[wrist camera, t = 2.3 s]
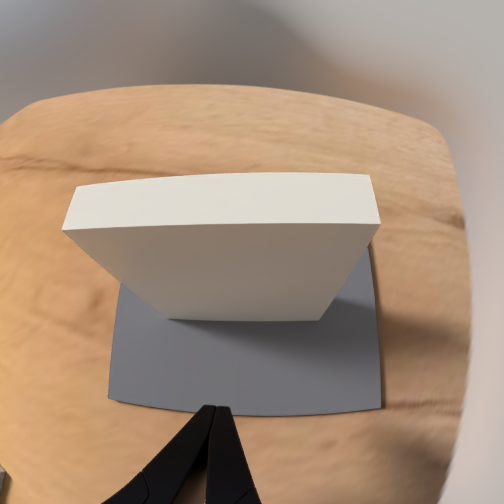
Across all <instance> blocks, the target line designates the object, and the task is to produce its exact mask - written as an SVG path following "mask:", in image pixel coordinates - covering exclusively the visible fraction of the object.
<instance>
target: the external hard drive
mask: <svg viewBox="0 0 504 504" xmlns="http://www.w3.org/2000/svg"><path fill="white" fill-rule="evenodd" d="M5 472H6V471H5V470H4V469H3V467H2V466H1V465H0V494H1V489H2V485H3V481H4V476H5Z"/></svg>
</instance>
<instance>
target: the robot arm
mask: <svg viewBox="0 0 504 504" xmlns="http://www.w3.org/2000/svg"><path fill="white" fill-rule="evenodd" d="M205 499H206V501H205ZM204 503H205V504H262V503H261V501H260V499H259V496H258V493H257V490H256V488H255V485H254V482H253V479H252V476H251V473H250V470H249V467H248V464H247V461H246V458H245V455H244V451H243V448H242V445H241V442H240V439H239V435H238V432H237V429H236V426H235V422H234V419H233V415H232V412H231V409H230V407H229V406H216V405H207V404H205V405H203V406H202V407H201V408H200V409H199V410H198V412H197V413H196V414H195V415H194V416H193V417H192V418H191V419H190V420H189V421H188V422H187V424H186V425H185V426H184V427H183V428H182V429H181V430H180V431H179V432H178V433H177V434H176V435H175V436H174V437H173V439H172V440H171V441H170V442H169V443H168V444H167V445H166V446H165V447H164V448H163V449H162V450H161V451H160V452H159V453H158V454H157V455H156V456H155V457H154V458H153V459H152V460H151V461H150V462H149V463H148V464H147V465H146V466H145V467H144V468H143V469H142V472H139V473H138V474H137V475H136V476H135V477H134V478H133V479H132V480H131V481H130V482H129V483H128V484H127V485H125V486H124V487H123V488H122V489H121V490H119V491H118V492H117V493H115V494H114V495H113V496H111V497H110V498H109V499H107V500H106V501H104V502H103V503H101V504H204Z"/></svg>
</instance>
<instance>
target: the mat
mask: <svg viewBox="0 0 504 504" xmlns="http://www.w3.org/2000/svg"><path fill="white" fill-rule="evenodd" d="M108 399H112V400H116V401H121V402H127V403H132V404H138V405H144V406H150V407H157V408H164V409H171V410H180V411H189V412H198V410H199V409H200V408H201V407H202V406H203V405H205V404H207V405H216V406H229V407H230V409H231V412H232V415H253V416H287V415H313V414H328V413H340V412H351V411H360V410H368V409H375V408H381V380H380V357H379V340H378V327H377V316H376V306H375V297H374V288H373V280H372V273H371V265H370V258H369V252H368V246H367V248H366V250H365V251H364V253H363V254H362V256H361V258H360V259H359V261H358V262H357V264H356V266H355V267H354V269H353V270H352V272H351V273H350V275H349V277H348V278H347V280H346V281H345V283H344V284H343V286H342V287H341V289H340V290H339V292H338V293H337V295H336V296H335V298H334V299H333V301H332V302H331V304H330V305H329V307H328V308H327V310H326V311H325V312H324V314H323V315H322V317H321V318H320V320H318V321H210V320H184V319H167V318H165V317H164V316H163V315H161V314H160V313H159V312H157V311H156V310H155V309H154V308H152V307H151V306H150V305H148V304H147V303H146V302H144V301H143V300H142V299H141V298H139V297H138V296H137V295H136V294H134V293H133V292H132V291H131V290H129V289H128V288H127V287H126V286H124V285H123V284H122V283H121V285H120V291H119V297H118V304H117V311H116V318H115V325H114V333H113V342H112V352H111V362H110V374H109V390H108Z"/></svg>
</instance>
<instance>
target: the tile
mask: <svg viewBox="0 0 504 504" xmlns="http://www.w3.org/2000/svg"><path fill="white" fill-rule="evenodd" d="M380 224H381V223H380V218H379V213H378V209H377V204H376V200H375V196H374V192H373V188H372V184H371V180H370V176H369V175H362V174H339V173H230V174H206V175H188V176H173V177H160V178H148V179H137V180H127V181H118V182H109V183H101V184H93V185H85V186H78V187H76V190H75V193H74V195H73V198H72V201H71V204H70V206H69V209H68V212H67V215H66V218H65V221H64V224H63V227H62V231H63V232H64V233H65V234H66V235H67V236H68V237H69V238H71V239H72V240H73V241H74V242H75V243H76V244H77V245H78V246H79V247H80V248H81V249H83V250H84V251H85V252H86V253H87V254H88V255H89V256H90V257H91V258H93V259H94V260H95V261H96V262H97V263H98V264H99V265H101V266H102V267H103V268H104V269H105V270H106V271H108V272H109V273H110V274H111V275H112V276H114V277H115V278H116V279H117V280H118V281H120V282H121V283H122V284H123V285H124V286H126V287H127V288H128V289H129V290H131V291H132V292H133V293H134V294H136V295H137V296H138V297H139V298H141V299H142V300H143V301H144V302H146V303H147V304H148V305H150V306H151V307H152V308H154V309H155V310H156V311H157V312H159V313H160V314H161V315H163V316H164V317H165V318H167V319H184V320H210V321H318V320H320V318H321V317H322V315H323V314H324V312H325V311H326V310H327V308H328V307H329V305H330V304H331V302H332V301H333V299H334V298H335V296H336V295H337V293H338V292H339V290H340V289H341V287H342V286H343V284H344V283H345V281H346V280H347V278H348V277H349V275H350V273H351V272H352V270H353V269H354V267H355V266H356V264H357V262H358V261H359V259H360V258H361V256H362V254H363V253H364V251H365V250H366V248H367V246H368V245H369V243H370V241H371V240H372V238H373V236H374V235H375V233H376V231H377V229H378V228H379V226H380Z"/></svg>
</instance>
